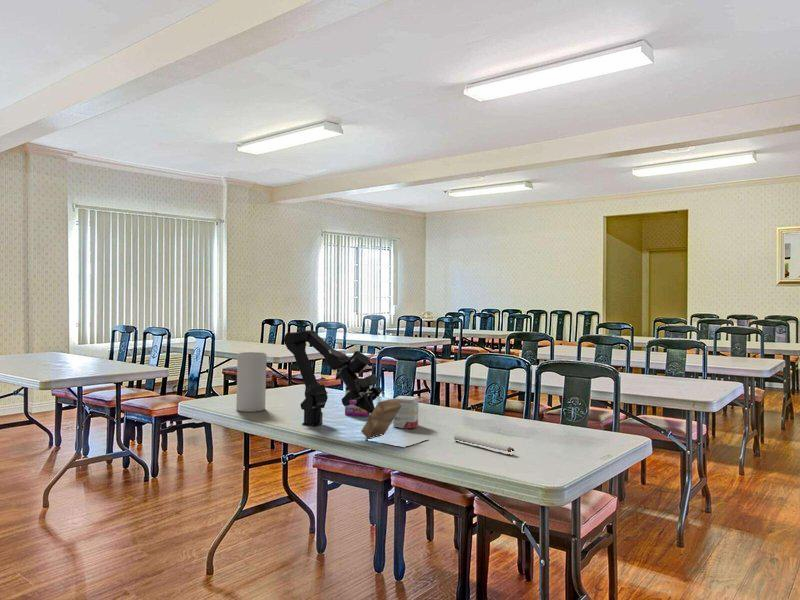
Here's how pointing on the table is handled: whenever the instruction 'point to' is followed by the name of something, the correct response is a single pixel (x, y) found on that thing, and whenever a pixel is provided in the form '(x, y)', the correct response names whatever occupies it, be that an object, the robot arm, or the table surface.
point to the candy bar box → (356, 407)
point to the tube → (482, 442)
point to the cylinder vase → (251, 381)
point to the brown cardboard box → (381, 418)
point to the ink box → (406, 412)
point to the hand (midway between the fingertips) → (374, 413)
